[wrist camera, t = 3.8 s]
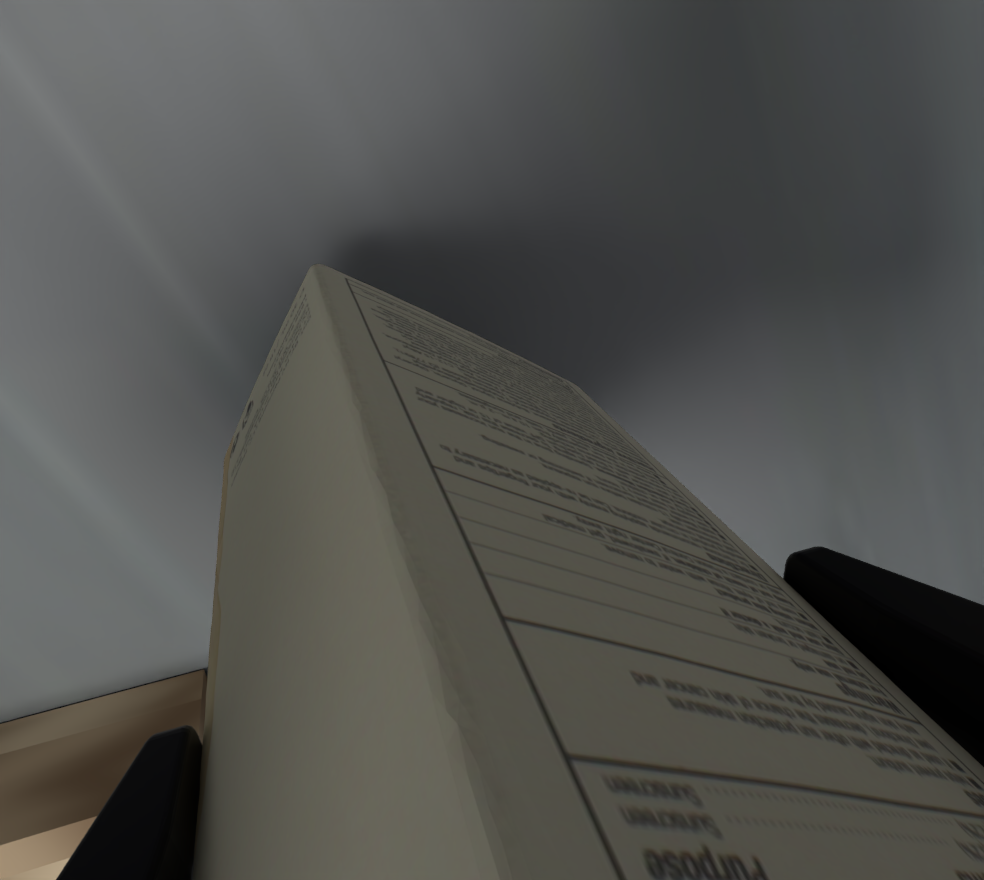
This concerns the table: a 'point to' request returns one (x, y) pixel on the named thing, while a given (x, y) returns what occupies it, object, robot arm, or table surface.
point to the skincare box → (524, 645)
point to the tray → (79, 767)
